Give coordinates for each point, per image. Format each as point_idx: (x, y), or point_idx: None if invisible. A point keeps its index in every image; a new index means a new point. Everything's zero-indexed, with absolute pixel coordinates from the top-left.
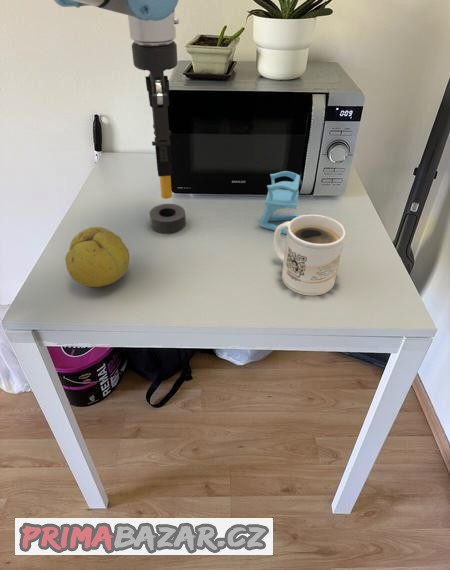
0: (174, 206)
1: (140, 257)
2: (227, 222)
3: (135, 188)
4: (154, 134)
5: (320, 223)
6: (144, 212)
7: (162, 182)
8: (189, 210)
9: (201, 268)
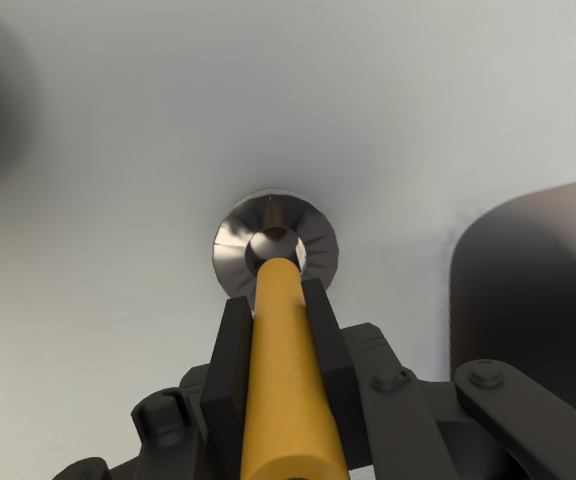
0: (319, 273)
1: (79, 195)
2: None
3: (523, 75)
4: (372, 374)
5: None
6: (345, 150)
7: (256, 295)
8: (367, 296)
9: (62, 370)
